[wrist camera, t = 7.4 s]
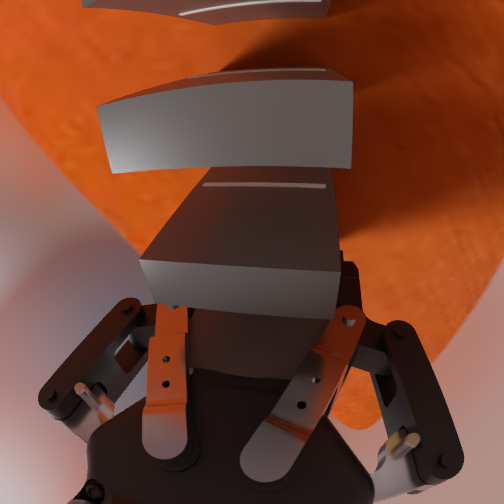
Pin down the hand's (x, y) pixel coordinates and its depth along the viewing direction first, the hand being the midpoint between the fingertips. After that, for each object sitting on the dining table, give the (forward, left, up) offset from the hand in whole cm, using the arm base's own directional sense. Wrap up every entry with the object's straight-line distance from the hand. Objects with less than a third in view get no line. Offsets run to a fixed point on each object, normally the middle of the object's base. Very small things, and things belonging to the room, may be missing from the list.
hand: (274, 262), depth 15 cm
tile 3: (-8, 0, -3) cm, 8 cm away
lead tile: (0, 0, -2) cm, 2 cm away
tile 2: (-4, 0, -3) cm, 5 cm away
